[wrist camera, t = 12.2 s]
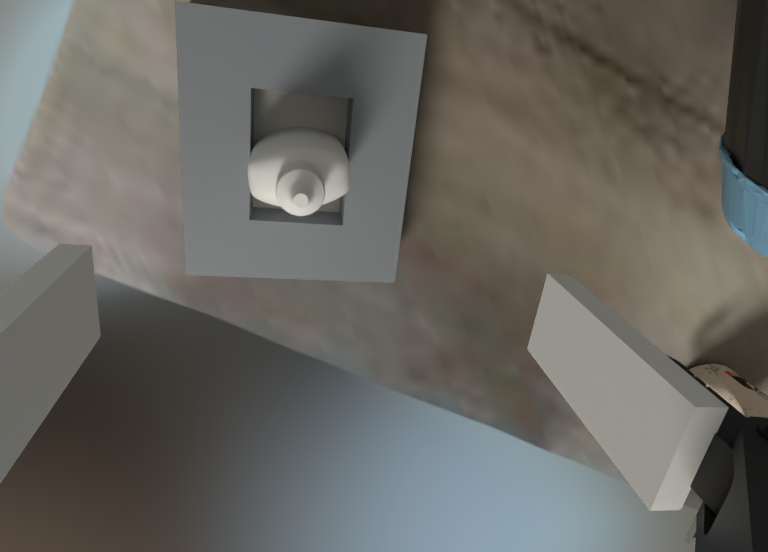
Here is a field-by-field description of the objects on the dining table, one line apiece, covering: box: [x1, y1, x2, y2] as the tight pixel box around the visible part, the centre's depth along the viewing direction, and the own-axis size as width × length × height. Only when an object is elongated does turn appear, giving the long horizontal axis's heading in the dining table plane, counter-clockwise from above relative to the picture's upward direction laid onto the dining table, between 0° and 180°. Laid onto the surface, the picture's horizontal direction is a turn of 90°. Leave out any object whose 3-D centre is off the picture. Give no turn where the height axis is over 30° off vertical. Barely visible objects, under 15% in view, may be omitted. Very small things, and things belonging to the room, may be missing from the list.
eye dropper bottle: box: [247, 127, 350, 217], centre depth 29 cm, size 4×6×12 cm
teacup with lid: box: [689, 364, 768, 419], centre depth 45 cm, size 12×9×12 cm
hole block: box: [175, 1, 427, 283], centre depth 34 cm, size 16×14×4 cm
